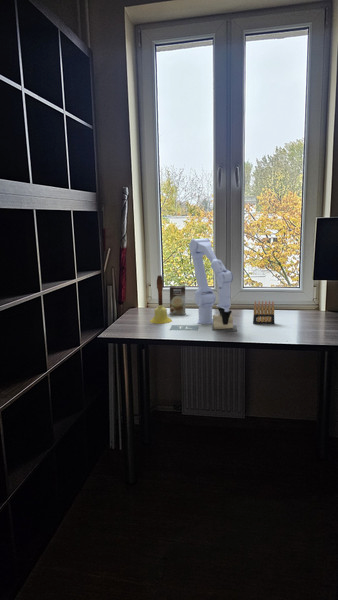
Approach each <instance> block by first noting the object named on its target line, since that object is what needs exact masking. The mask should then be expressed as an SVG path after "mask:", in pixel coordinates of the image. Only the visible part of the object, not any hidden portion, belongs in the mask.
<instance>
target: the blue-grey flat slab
mask: <svg viewBox="0 0 338 600" xmlns="http://www.w3.org/2000/svg"><path fill="white" fill-rule="evenodd" d="M199 326H200V325H199V324H198V325H194V324H193V325H191V324H189V325H188V324H185V325H181V324H172V325H170V328H169V331H198V330H199Z"/></svg>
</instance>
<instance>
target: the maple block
mask: <svg viewBox="0 0 338 600" xmlns="http://www.w3.org/2000/svg"><path fill="white" fill-rule="evenodd" d="M212 319H213V324H212V327H214V329H226V328H233V325H234V324H233V319H234V318H233V315H232V313H231V314H230V317H229V321H228V324H227V325H223V321H222V315H220V314H212Z"/></svg>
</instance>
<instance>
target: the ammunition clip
mask: <svg viewBox="0 0 338 600" xmlns="http://www.w3.org/2000/svg"><path fill="white" fill-rule="evenodd" d="M252 319H253V320H252V324H253V325H275V324H276V322H275V302H274V300H272V301H270V300H268V302H267V300H265V301H264V300H262V301H261V302H260V301H258V302H257V301H256V300H255V301H254V304H253V318H252Z"/></svg>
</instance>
